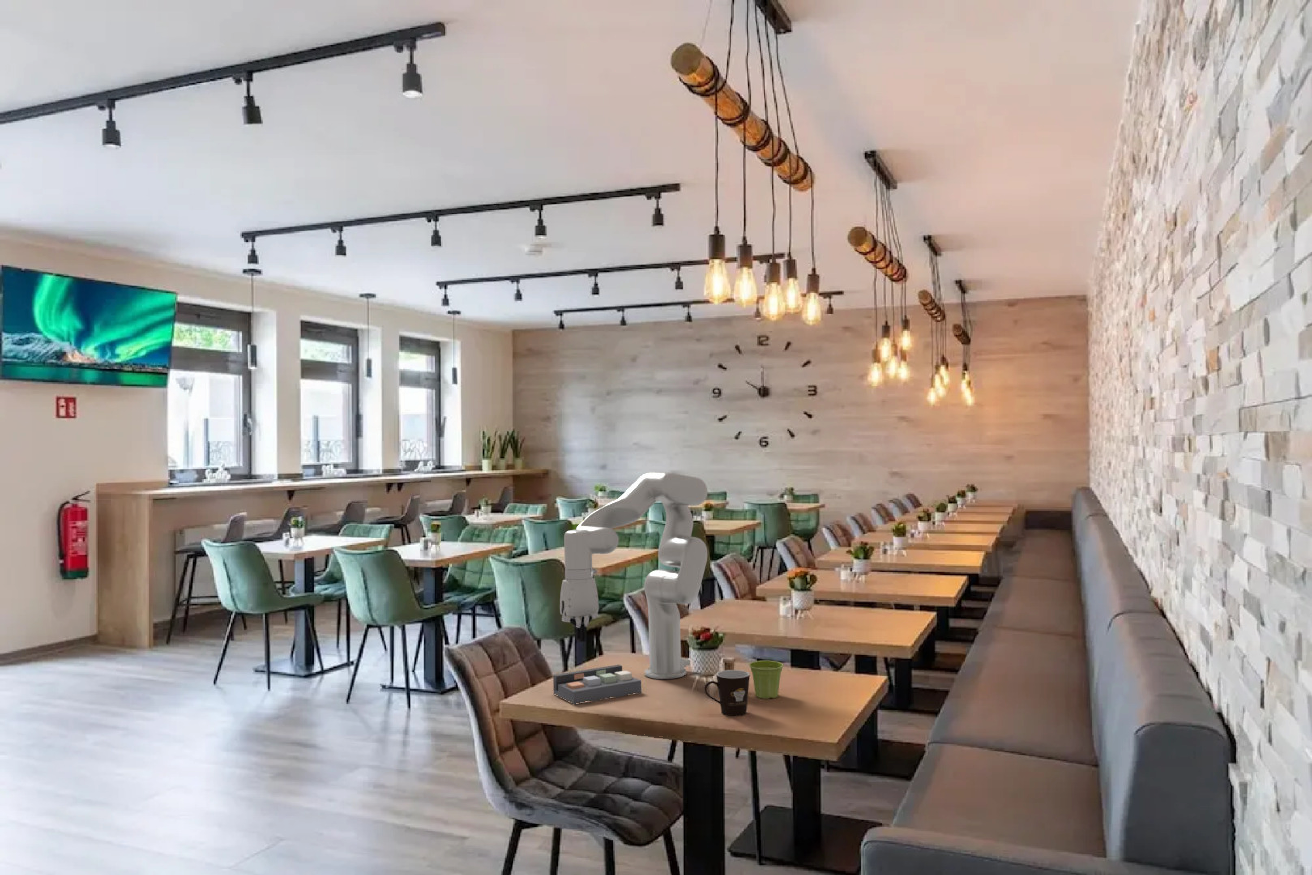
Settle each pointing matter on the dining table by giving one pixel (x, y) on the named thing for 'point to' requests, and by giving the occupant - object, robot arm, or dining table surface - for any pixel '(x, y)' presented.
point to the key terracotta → (575, 685)
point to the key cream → (623, 675)
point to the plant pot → (766, 678)
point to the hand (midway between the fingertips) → (580, 640)
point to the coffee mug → (732, 691)
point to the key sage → (607, 678)
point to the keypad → (597, 690)
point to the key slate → (591, 681)
